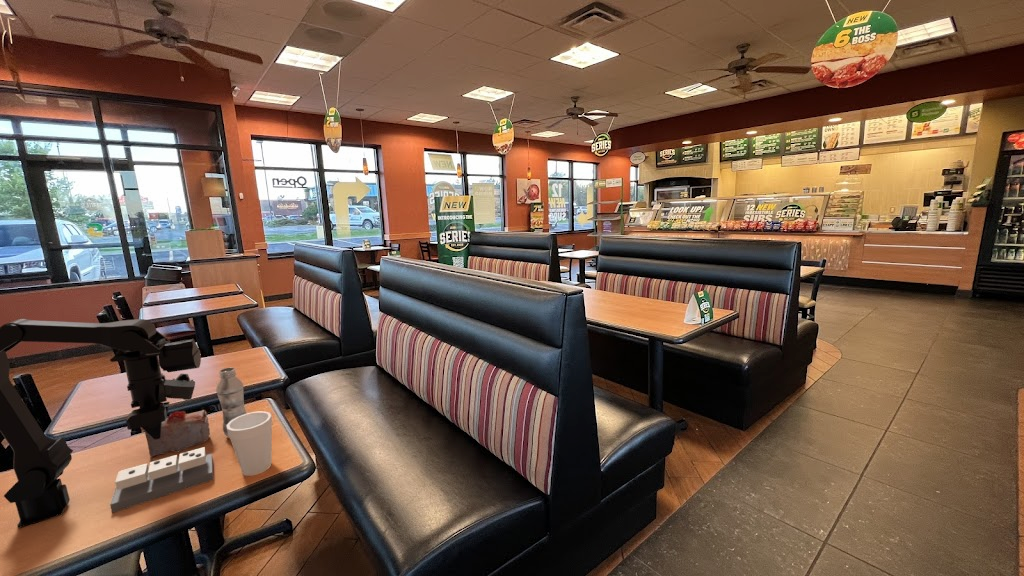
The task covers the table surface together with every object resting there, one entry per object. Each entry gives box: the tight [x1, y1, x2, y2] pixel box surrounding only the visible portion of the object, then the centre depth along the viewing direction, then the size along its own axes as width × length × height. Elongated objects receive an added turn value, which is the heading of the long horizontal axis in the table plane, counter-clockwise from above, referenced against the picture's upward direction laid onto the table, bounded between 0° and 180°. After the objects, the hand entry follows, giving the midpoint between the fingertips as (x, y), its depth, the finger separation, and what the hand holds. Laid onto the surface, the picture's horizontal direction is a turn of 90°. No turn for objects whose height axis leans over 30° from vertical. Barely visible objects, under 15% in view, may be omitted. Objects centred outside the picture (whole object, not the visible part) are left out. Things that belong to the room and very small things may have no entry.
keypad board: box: [109, 453, 214, 514], centre depth 99 cm, size 18×10×2 cm, turn 126°
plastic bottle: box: [215, 367, 247, 438], centre depth 118 cm, size 6×7×20 cm
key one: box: [114, 462, 149, 490], centre depth 95 cm, size 5×5×2 cm
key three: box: [178, 446, 207, 471], centre depth 101 cm, size 5×5×2 cm
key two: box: [148, 454, 179, 481], centre depth 98 cm, size 5×5×2 cm
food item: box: [144, 409, 211, 458], centre depth 115 cm, size 14×8×10 cm, turn 125°
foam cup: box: [226, 410, 274, 477], centre depth 103 cm, size 10×9×13 cm
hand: (157, 438), depth 97 cm, fingers closed
